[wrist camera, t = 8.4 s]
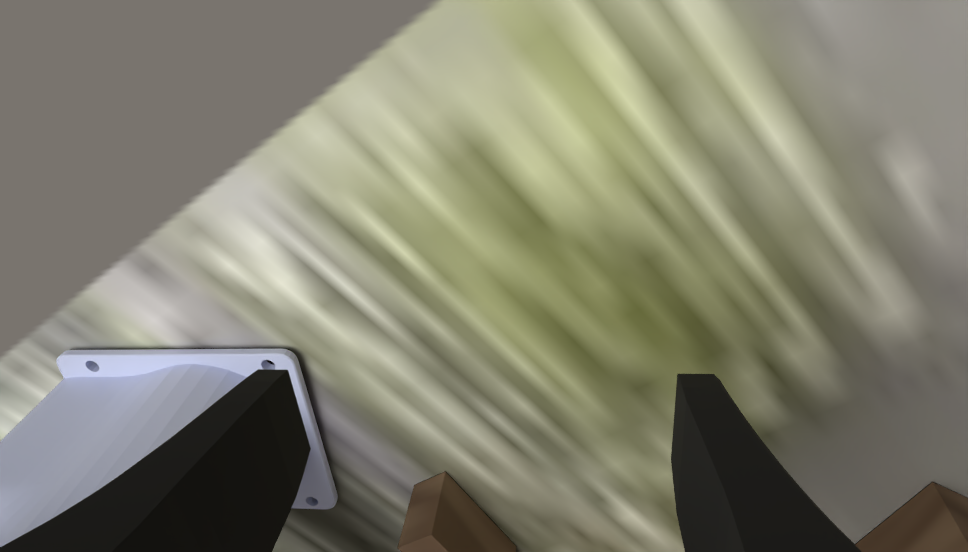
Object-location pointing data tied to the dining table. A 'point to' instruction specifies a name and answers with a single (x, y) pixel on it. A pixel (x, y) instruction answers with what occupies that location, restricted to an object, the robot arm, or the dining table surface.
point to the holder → (485, 548)
